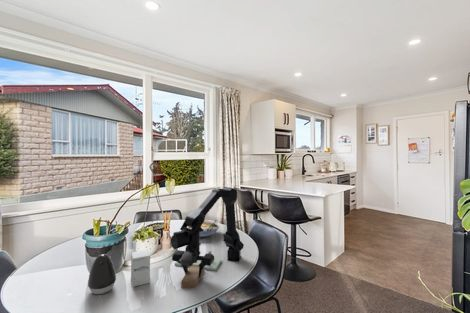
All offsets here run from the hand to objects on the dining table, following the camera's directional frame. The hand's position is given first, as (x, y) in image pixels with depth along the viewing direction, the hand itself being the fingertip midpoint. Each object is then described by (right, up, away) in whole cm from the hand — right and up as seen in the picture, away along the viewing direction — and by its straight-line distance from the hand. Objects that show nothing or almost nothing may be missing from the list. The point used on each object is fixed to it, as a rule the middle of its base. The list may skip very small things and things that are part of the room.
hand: (193, 275), depth 108 cm
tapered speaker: (-36, -1, -10) cm, 38 cm away
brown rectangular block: (0, -2, 0) cm, 2 cm away
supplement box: (-23, -1, -3) cm, 23 cm away
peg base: (0, -1, +14) cm, 14 cm away
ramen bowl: (-3, 0, +55) cm, 55 cm away
